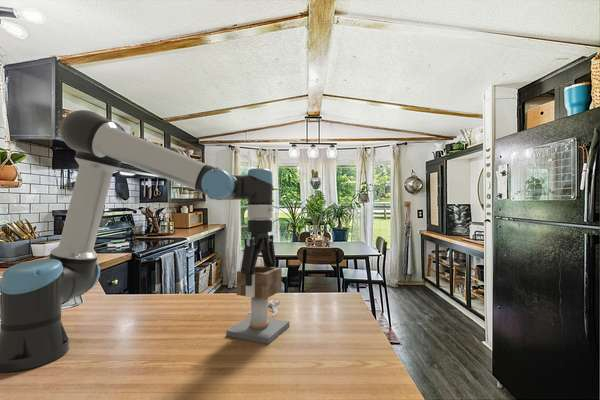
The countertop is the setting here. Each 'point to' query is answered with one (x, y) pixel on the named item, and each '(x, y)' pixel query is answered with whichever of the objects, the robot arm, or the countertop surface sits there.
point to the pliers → (272, 304)
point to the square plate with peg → (258, 324)
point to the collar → (261, 282)
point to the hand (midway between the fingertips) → (259, 291)
